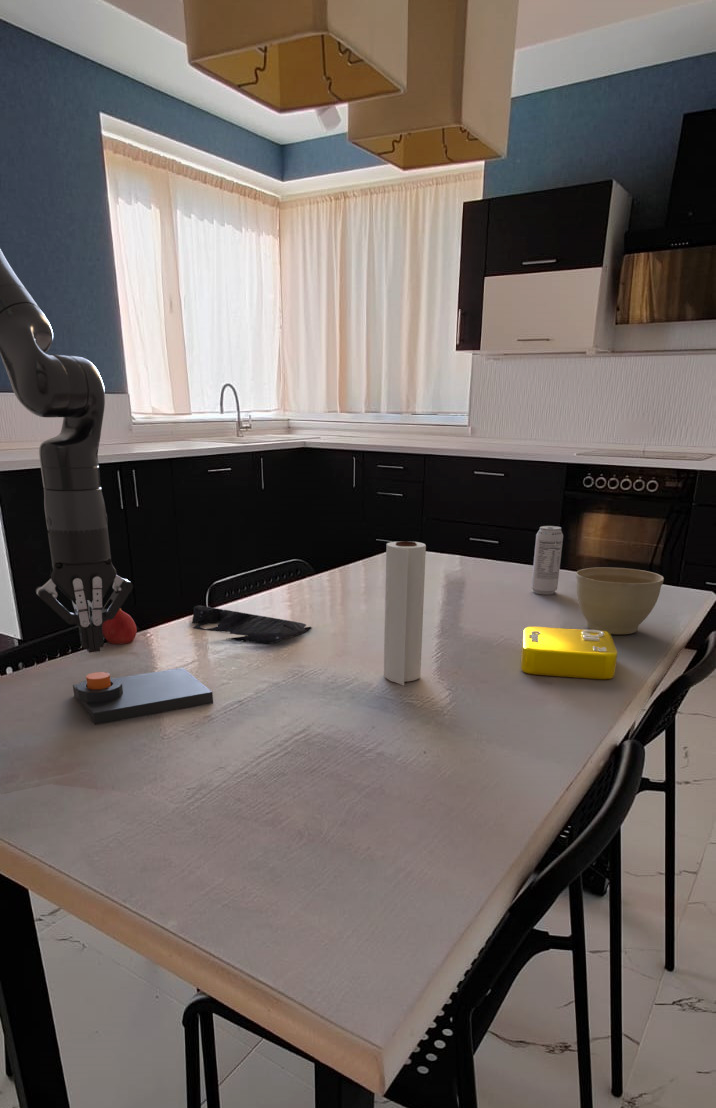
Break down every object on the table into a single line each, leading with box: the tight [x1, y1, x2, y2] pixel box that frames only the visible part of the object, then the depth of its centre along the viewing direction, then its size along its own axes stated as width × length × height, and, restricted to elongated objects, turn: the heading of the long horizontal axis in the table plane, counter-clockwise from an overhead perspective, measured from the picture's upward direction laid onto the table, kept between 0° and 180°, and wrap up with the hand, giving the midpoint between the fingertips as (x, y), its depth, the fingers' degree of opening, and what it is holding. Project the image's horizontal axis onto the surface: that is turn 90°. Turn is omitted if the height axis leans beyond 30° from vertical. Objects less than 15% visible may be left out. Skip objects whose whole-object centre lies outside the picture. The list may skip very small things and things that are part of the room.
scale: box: [72, 667, 214, 726], centre depth 113 cm, size 18×13×4 cm
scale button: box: [85, 671, 111, 689], centre depth 110 cm, size 3×3×2 cm
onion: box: [102, 607, 138, 645], centre depth 136 cm, size 6×6×8 cm
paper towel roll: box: [383, 540, 427, 687], centre depth 120 cm, size 7×6×21 cm
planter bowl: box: [575, 566, 665, 635], centre depth 150 cm, size 16×16×11 cm
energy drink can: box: [530, 525, 564, 596], centre depth 179 cm, size 6×6×15 cm
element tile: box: [520, 625, 618, 681], centre depth 131 cm, size 15×15×5 cm
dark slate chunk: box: [191, 605, 312, 645], centre depth 147 cm, size 15×22×5 cm
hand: (93, 650), depth 108 cm, fingers closed
